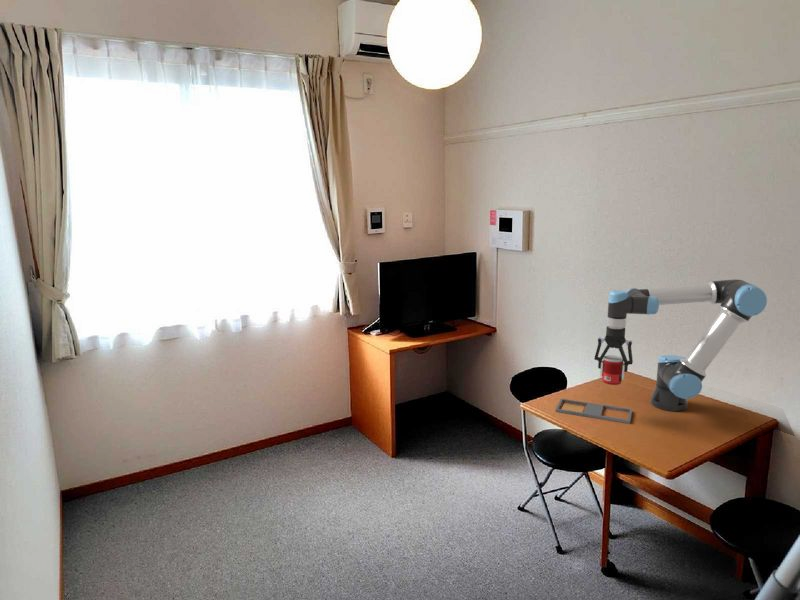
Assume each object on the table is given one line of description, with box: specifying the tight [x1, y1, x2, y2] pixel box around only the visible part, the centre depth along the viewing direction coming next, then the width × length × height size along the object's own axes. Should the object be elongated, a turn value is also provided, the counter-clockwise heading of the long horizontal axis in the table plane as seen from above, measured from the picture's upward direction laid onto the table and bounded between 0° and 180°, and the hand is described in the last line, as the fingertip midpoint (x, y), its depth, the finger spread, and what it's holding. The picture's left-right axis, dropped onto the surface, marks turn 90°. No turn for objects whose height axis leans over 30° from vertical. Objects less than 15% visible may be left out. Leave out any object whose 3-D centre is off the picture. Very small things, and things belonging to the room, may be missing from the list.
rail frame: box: [555, 398, 633, 425], centre depth 245 cm, size 31×13×1 cm, turn 64°
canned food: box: [601, 354, 624, 386], centre depth 238 cm, size 8×8×11 cm
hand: (612, 376), depth 238 cm, fingers closed on canned food, 8 cm apart
